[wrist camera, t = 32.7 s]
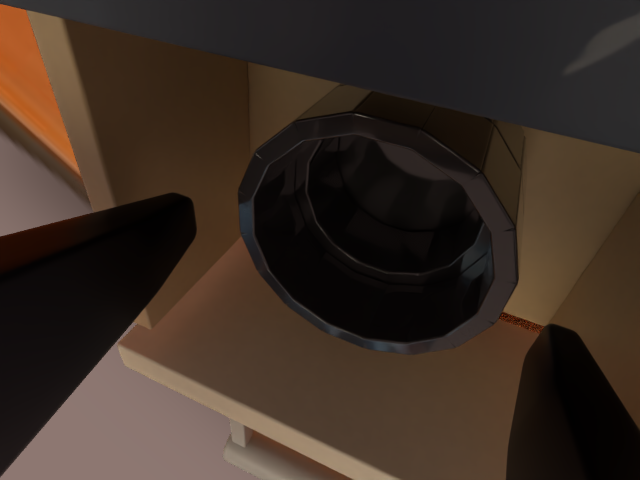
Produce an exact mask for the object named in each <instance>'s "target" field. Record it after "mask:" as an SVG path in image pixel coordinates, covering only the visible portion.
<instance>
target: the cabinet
mask: <svg viewBox="0 0 640 480" xmlns="http://www.w3.org/2000/svg"><path fill="white" fill-rule="evenodd" d="M0 4H3V5H8V6H12V7H16V8H20V9H25V10H29V11H33V12H37V13H42V14H46V15H50V16H54V17H59V18H63V19H67V20H72V21H76V22H80V23H84V24H89V25H93V26H97V27H101V28H106V29H110V30H114V31H119V32H123V33H127V34H131V35H136V36H140V37H144V38H148V39H153V40H157V41H161V42H166V43H170V44H174V45H178V46H183V47H187V48H191V49H195V50H200V51H204V52H208V53H213V54H217V55H221V56H225V57H230V58H234V59H238V60H242V61H247V62H251V63H255V64H259V65H264V66H268V67H272V68H277V69H281V70H285V71H289V72H294V73H298V74H302V75H306V76H311V77H315V78H319V79H324V80H328V81H332V82H336V83H341V84H345V85H349V86H353V87H358V88H362V89H366V90H371V91H375V92H379V93H383V94H388V95H392V96H396V97H400V98H405V99H409V100H413V101H418V102H422V103H426V104H430V105H435V106H439V107H443V108H447V109H452V110H456V111H460V112H464V113H469V114H473V115H477V116H482V117H486V118H490V119H494V120H499V121H503V122H507V123H511V124H516V125H520V126H524V127H529V128H533V129H537V130H541V131H546V132H550V133H554V134H558V135H563V136H567V137H571V138H576V139H580V140H584V141H588V142H593V143H597V144H601V145H605V146H610V147H614V148H618V149H623V150H627V151H631V152H635V153H640V0H0Z"/></svg>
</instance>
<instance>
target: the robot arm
mask: <svg viewBox="0 0 640 480" xmlns="http://www.w3.org/2000/svg"><path fill="white" fill-rule="evenodd" d="M196 234H197V224H196V217H195V209H194V203H193V201H192V199H191V198H189V197H187V196H184V195H181V194H178V193H174V192H172V193H167V194H163V195H159V196H156V197H152V198H148V199H144V200H140V201H136V202H132V203H129V204H125V205H121V206H117V207H113V208H109V209H105V210H101V211H98V212H94V213H90V214H86V215H82V216H79V217H74V218H71V219H67V220H63V221H59V222H55V223H51V224H48V225H43V226H40V227H36V228H32V229H28V230H24V231H20V232H17V233H13V234H9V235H5V236H1V237H0V477H1V476H2V475H3V473H4V472H5V471H6V470H7V469H8V468H9V466H10V465H11V464H12V463H13V462H14V460H15V459H16V458H17V457H18V456H19V455H20V453H21V452H22V451H23V450H24V449H25V448H26V446H27V445H28V444H29V443H30V442H31V441H32V439H33V438H34V437H35V436H36V435H37V433H39V431H40V430H41V429H42V428H43V427H44V425H45V424H46V423H47V422H48V421H49V420H50V418H51V417H52V416H53V415H54V414H55V413H56V411H57V410H58V409H59V408H60V407H61V406H62V404H63V403H64V402H65V401H66V400H67V399H68V397H69V396H70V395H71V394H72V393H73V392H74V390H75V389H76V388H77V387H78V386H79V385H80V383H81V382H82V381H83V380H84V379H85V378H86V376H87V375H88V374H89V373H90V372H91V371H92V369H93V368H94V367H95V366H96V365H97V364H98V362H99V361H100V360H101V359H102V357H103V356H104V355H105V354H106V353H107V352H108V351H109V349H110V348H111V347H112V346H113V345H114V344H115V342H116V341H117V340H118V339H119V338H120V337H121V335H122V334H123V333H124V332H125V331H126V330H127V328H128V327H129V326H130V325H131V324H132V323H133V321H134V320H135V319H136V318H137V317H138V316H139V314H140V313H141V312H142V311H143V310H144V309H145V307H146V306H147V305H148V304H149V303H150V301H151V300H152V299H153V298H154V296H155V295H156V294H157V293H158V291H159V290H160V289H161V287H162V286H163V284H164V283H165V281H166V280H167V279H168V277H169V276H170V274H171V273H172V271H173V270H174V268H175V267H176V265H177V264H178V263H179V261H180V260H181V258H182V257H183V255H184V254H185V252H186V251H187V249H188V248H189V247H190V245H191V244H192V242H193V241H194V239H195V237H196ZM506 480H640V430H639V428H638V427H637V425H636V424H635V422H634V420H633V419H632V417H631V416H630V414H629V413H628V411H627V409H626V408H625V406H624V405H623V403H622V402H621V400H620V398H619V397H618V395H617V394H616V392H615V391H614V389H613V388H612V386H611V384H610V383H609V381H608V380H607V378H606V377H605V375H604V373H603V372H602V370H601V369H600V367H599V366H598V364H597V362H596V361H595V359H594V358H593V356H592V355H591V353H590V352H589V350H588V348H587V347H586V345H585V344H584V342H583V341H582V339H581V337H580V336H579V335H578V334H577V333H576V332H575V331H573V330H571V329H568V328H565V327H562V326H560V325H557V324H553V323H550V324H547V325H546V326H545V327H544V328H543V330H542V331H541V333H540V334H539V336H538V337H537V338H536V340H535V341H534V343H533V344H532V346H531V347H530V349H529V350H528V352H527V354H526V356H525V359H524V362H523V366H522V372H521V377H520V383H519V388H518V393H517V399H516V404H515V409H514V415H513V420H512V426H511V431H510V437H509V443H508V452H507V465H506Z"/></svg>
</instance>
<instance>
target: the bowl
mask: <svg viewBox="0 0 640 480" xmlns="http://www.w3.org/2000/svg"><path fill="white" fill-rule="evenodd" d="M526 185H527V152H526V137H525V136H524V130H523V129H522V127H521V126H520V125H516V124H511V123H507V122H503V121H499V120H494V119H490V118H486V117H482V116H477V115H473V114H469V113H464V112H460V111H456V110H452V109H447V108H443V107H439V106H435V105H430V104H426V103H422V102H418V101H413V100H409V99H405V98H400V97H396V96H392V95H388V94H383V93H379V92H375V91H371V90H366V89H362V88H358V87H353V86H349V85H345V84H341V83H339V84H338V85H336V86H335V87H334V88H332V89H331V90H330V91H329V92H327V93H326V94H325V95H324V96H322V97H321V98H320V99H319V100H317V101H316V102H315V103H314V104H312V105H311V106H310V107H308V108H307V109H306V110H305V111H303V112H302V113H301V114H300V115H298V116H297V117H296V118H295V119H293V120H292V121H291V122H290V123H288V124H287V125H286V126H285V127H283V128H282V129H281V130H279V131H278V132H277V133H276V134H274V135H273V136H272V137H271V138H269V139H268V140H267V141H266V142H264V143H263V144H262V145H261V146H259V147H258V148H257V149H256V151H254V153H253V155H252V158H251V160H250V162H249V165H248V167H247V169H246V172H245V174H244V176H243V179H242V181H241V183H240V186H239V188H238V210H239V228H240V232H241V233H240V234H241V236H242V239H243V241H244V243H245V245H246V248H247V250H248V252H249V254H250V257H251V259H252V261H253V263H254V266H255V268H256V270H257V271H258V273H259V274H260V276H261V277H262V278H263V279H264V280H265V281H266V283H267V284H268V285H269V286H270V287H271V289H272V290H273V291H274V292H275V293H276V294H277V296H278V297H279V298H280V299H281V300H282V301H283V303H284V304H285V305H287V307H289V308H290V309H292V310H293V311H294V312H296V313H297V314H299V315H300V316H301V317H303V318H304V319H306V320H307V321H308V322H310V323H311V324H313V325H314V326H315V327H317V328H318V329H320V330H321V331H323V332H324V333H327V334H329V335H332V336H334V337H337V338H339V339H342V340H344V341H347V342H349V343H352V344H354V345H356V346H359V347H361V348H364V349H365V348H366V349H368V350H375V351H382V352H390V353H397V354H404V355H417V354H423V353H429V352H435V351H441V350H447V349H453V348H456V347H459V346H461V345H462V344H464V343H466V342H467V341H469V340H470V339H472V338H474V337H475V336H477V335H479V334H480V333H482V332H483V331H485V330H487V329H488V328H490V327H491V326H493V325H494V324H495V323H496V322H497V321H498V319H499V317H500V315H501V314H502V312H503V310H504V308H505V306H506V305H507V303H508V301H509V299H510V298H511V296H512V294H513V292H514V290H515V289H516V287H517V285H518V281H519V274H520V262H521V249H522V237H523V224H524V210H525V197H526Z"/></svg>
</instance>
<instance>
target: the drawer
mask: <svg viewBox="0 0 640 480" xmlns="http://www.w3.org/2000/svg"><path fill="white" fill-rule="evenodd" d="M26 11H27V14H28V17H29V20H30V23H31V26H32V29H33V32H34V35H35V38H36V41H37V44H38V47H39V50H40V53H41V56H42V59H43V62H44V65H45V68H46V71H47V74H48V77H49V80H50V83H51V86H52V89H53V92H54V95H55V98H56V101H57V104H58V107H59V110H60V113H61V116H62V119H63V122H64V125H65V128H66V131H67V134H68V137H69V140H70V143H71V146H72V149H73V152H74V155H75V158H76V161H77V164H78V167H79V170H80V173H81V176H82V179H83V182H84V185H85V188H86V191H87V194H88V197H89V200H90V203H91V206H92V209H93V212H98V211H101V210H105V209H109V208H113V207H117V206H121V205H125V204H129V203H132V202H136V201H140V200H144V199H148V198H152V197H156V196H159V195H163V194H167V193H172V192H174V193H178V194H181V195H184V196H187V197H189V198H191V199H192V201H193V203H194V209H195V217H196V224H197V234H196V237H195V239H194V241H193V242H192V244H191V245H190V247H189V248H188V249H187V251H186V252H185V254H184V255H183V257H182V258H181V260H180V261H179V263H178V264H177V265H176V267H175V268H174V270H173V271H172V273H171V274H170V276H169V277H168V279H167V280H166V281H165V283H164V284H163V286H162V287H161V289H160V290H159V291H158V293H157V294H156V295H155V296H154V298H153V299H152V300H151V301H150V303H149V304H148V305H147V306H146V307H145V309H144V310H143V311H142V312H141V313H140V314H139V316H138V317H137V318H136V319H135V320H134V321H133V322H135V323H137V325H136V326H135V327H134V328H133V329H132V330H131V331H130V332H129V333H128V334H127V335H126V336H125V337H124V338H123V339H122V340H121V341H120V342H119V343H118V344H117V347H118V349H119V352H120V355H121V357H122V359H123V362H124V365H125V366H126V367H128V368H130V369H133V370H134V371H136V372H138V373H141V374H142V375H144V376H146V377H148V378H150V379H153V380H154V381H157V382H159V383H161V384H163V385H165V386H167V387H169V388H171V389H173V390H175V391H177V392H179V393H181V394H183V395H185V396H187V397H189V398H191V399H193V400H195V401H197V402H199V403H201V404H203V405H205V406H207V407H209V408H211V409H213V410H215V411H217V412H219V413H221V414H223V415H225V416H227V417H229V419H230V428H231V434H230V436H229V438H228V440H227V442H226V445H225V447H224V451H223V459H224V460H225V461H227V462H229V463H231V464H233V465H235V466H237V467H238V468H240V469H242V470H244V471H246V472H248V473H250V474H252V475H254V476H255V477H257V478H259V479H262V480H506V465H507V452H508V443H509V437H510V431H511V426H512V420H513V415H514V409H515V404H516V399H517V393H518V388H519V383H520V377H521V372H522V366H523V362H524V359H525V356H526V354H527V352H528V350H529V349H530V347H531V346H532V344H533V343H534V341H535V340H536V338H537V337H538V336H539V333H536V332H534V331H531V330H528V329H525V328H522V327H519V326H517V325H514V324H511V323H508V322H505V321H503V320H500V319H498V321H497V322H496V323H495V324H494V325H493V326H491V327H490V328H488V329H487V330H485V331H483V332H482V333H480V334H479V335H477V336H475V337H474V338H472V339H470V340H469V341H467V342H466V343H464V344H462V345H461V346H459V347H456V348H453V349H447V350H441V351H435V352H429V353H423V354H417V355H404V354H397V353H390V352H382V351H375V350H368V349H366V348H365V349H364V348H361V347H359V346H356V345H354V344H352V343H349V342H347V341H344V340H342V339H339V338H337V337H334V336H332V335H329V334H327V333H324V332H323V331H321V330H320V329H318V328H317V327H315V326H314V325H313V324H311V323H310V322H308V321H307V320H306V319H304V318H303V317H301V316H300V315H299V314H297V313H296V312H294V311H293V310H292V309H290V308H289V307H287V305H285V304H284V303H283V301H282V300H281V299H280V298H279V297H278V296H277V294H276V293H275V292H274V291H273V290H272V289H271V287H270V286H269V285H268V284H267V283H266V281H265V280H264V279H263V278H262V277H261V276H260V274H259V273H258V271H257V270H256V268H255V266H254V263H253V261H252V259H251V257H250V254H249V252H248V250H247V248H246V245H245V243H244V241H243V239H242V236H241V234H240V233H241V232H240V228H239V210H238V188H239V186H240V183H241V181H242V179H243V176H244V174H245V172H246V169H247V167H248V165H249V162H250V160H251V158H252V155H253V153H254V151H256V149H257V148H258V147H259V146H261V145H262V144H263V143H264V142H266V141H267V140H268V139H269V138H271V137H272V136H273V135H274V134H276V133H277V132H278V131H279V130H281V129H282V128H283V127H285V126H286V125H287V124H288V123H290V122H291V121H292V120H293V119H295V118H296V117H297V116H298V115H300V114H301V113H302V112H303V111H305V110H306V109H307V108H308V107H310V106H311V105H312V104H314V103H315V102H316V101H317V100H319V99H320V98H321V97H322V96H324V95H325V94H326V93H327V92H329V91H330V90H331V89H332V88H334V87H335V86H336V85H338V84H339V83H336V82H332V81H328V80H324V79H319V78H315V77H311V76H306V75H302V74H298V73H294V72H289V71H285V70H281V69H277V68H272V67H268V66H264V65H259V64H255V63H251V62H247V61H242V60H238V59H234V58H230V57H225V56H221V55H217V54H213V53H208V52H204V51H200V50H195V49H191V48H187V47H183V46H178V45H174V44H170V43H166V42H161V41H157V40H153V39H148V38H144V37H140V36H136V35H131V34H127V33H123V32H119V31H114V30H110V29H106V28H101V27H97V26H93V25H89V24H84V23H80V22H76V21H72V20H67V19H63V18H59V17H54V16H50V15H46V14H42V13H37V12H33V11H29V10H26ZM521 127H522V129H523V130H524V136H525V137H526V152H527V185H526V197H525V210H524V224H523V237H522V249H521V262H520V274H519V281H518V285H517V287H516V289H515V290H514V292H513V294H512V296H511V298H510V299H509V301H508V303H507V305H506V306H505V308H504V310H503V312H505V313H508V314H510V315H513V316H516V317H519V318H522V319H525V320H528V321H530V322H533V323H536V324H539V325H542V326H546V325H547V324H550V323H553V324H557V325H560V326H562V327H565V328H568V329H571V330H573V331H575V332H576V333H577V334H578V335H579V336H580V337H581V339H582V341H583V342H584V344H585V345H586V347H587V348H588V350H589V352H590V353H591V355H592V356H593V358H594V359H595V361H596V362H597V364H598V366H599V367H600V369H601V370H602V372H603V373H604V375H605V377H606V378H607V380H608V381H609V383H610V384H611V386H612V388H613V389H614V391H615V392H616V394H617V395H618V397H619V398H620V400H621V402H622V403H623V405H624V406H625V408H626V409H627V411H628V413H629V414H630V416H631V417H632V419H633V420H634V422H635V424H636V425H637V427H638V428H639V430H640V153H635V152H631V151H627V150H623V149H618V148H614V147H610V146H605V145H601V144H597V143H593V142H588V141H584V140H580V139H576V138H571V137H567V136H563V135H558V134H554V133H550V132H546V131H541V130H537V129H533V128H529V127H524V126H521Z"/></svg>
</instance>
